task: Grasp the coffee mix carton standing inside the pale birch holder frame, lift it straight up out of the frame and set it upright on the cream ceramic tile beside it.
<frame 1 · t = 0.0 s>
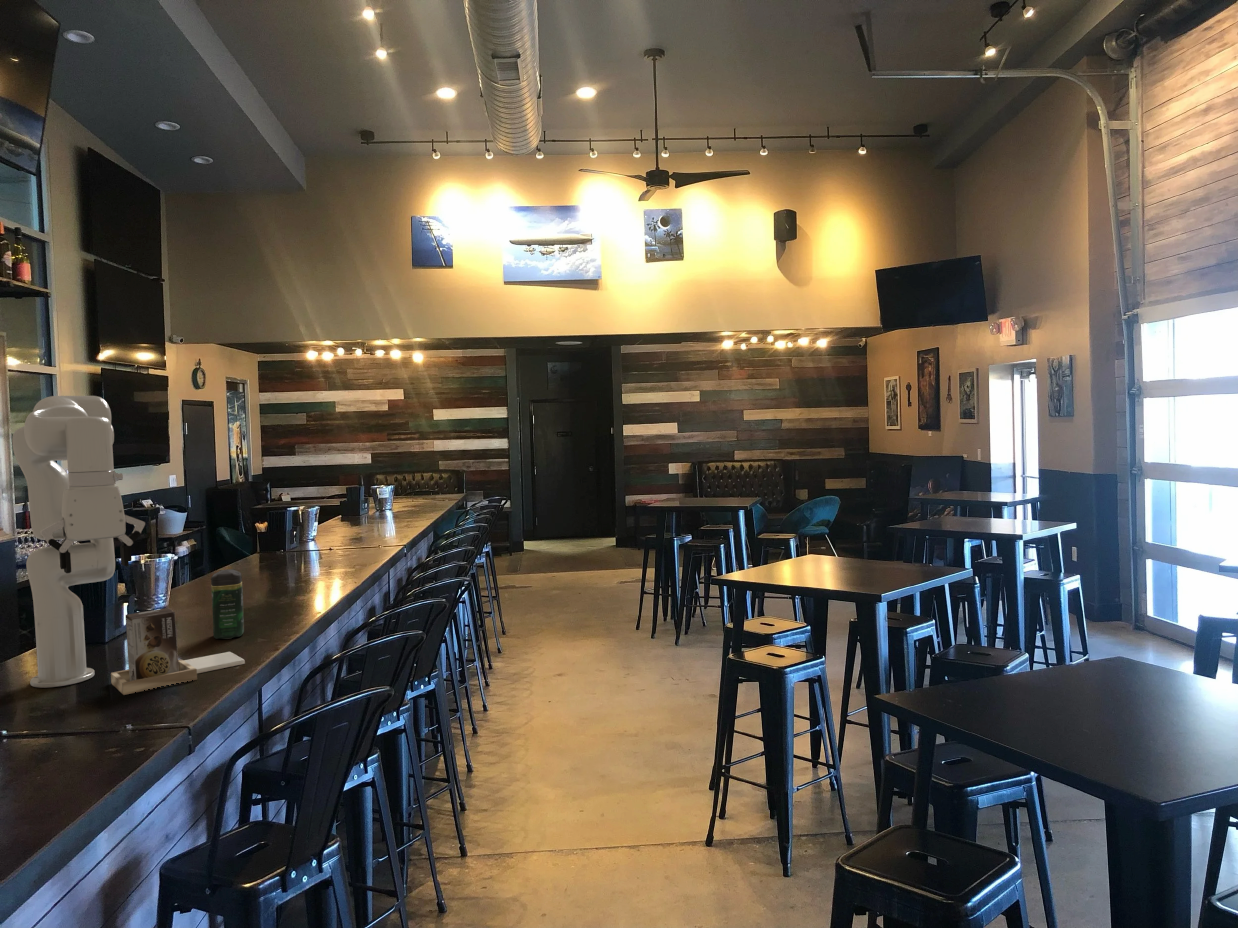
hand: (96, 568, 164), 31 cm above the bar counter, tool pointing down, fingers open, 9 cm apart
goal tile: (214, 664, 209), on the bar counter
coffee box: (154, 682, 196), resting in holder frame
coffee jar: (229, 636, 238), on the bar counter
holder frame: (154, 681, 196), on the bar counter
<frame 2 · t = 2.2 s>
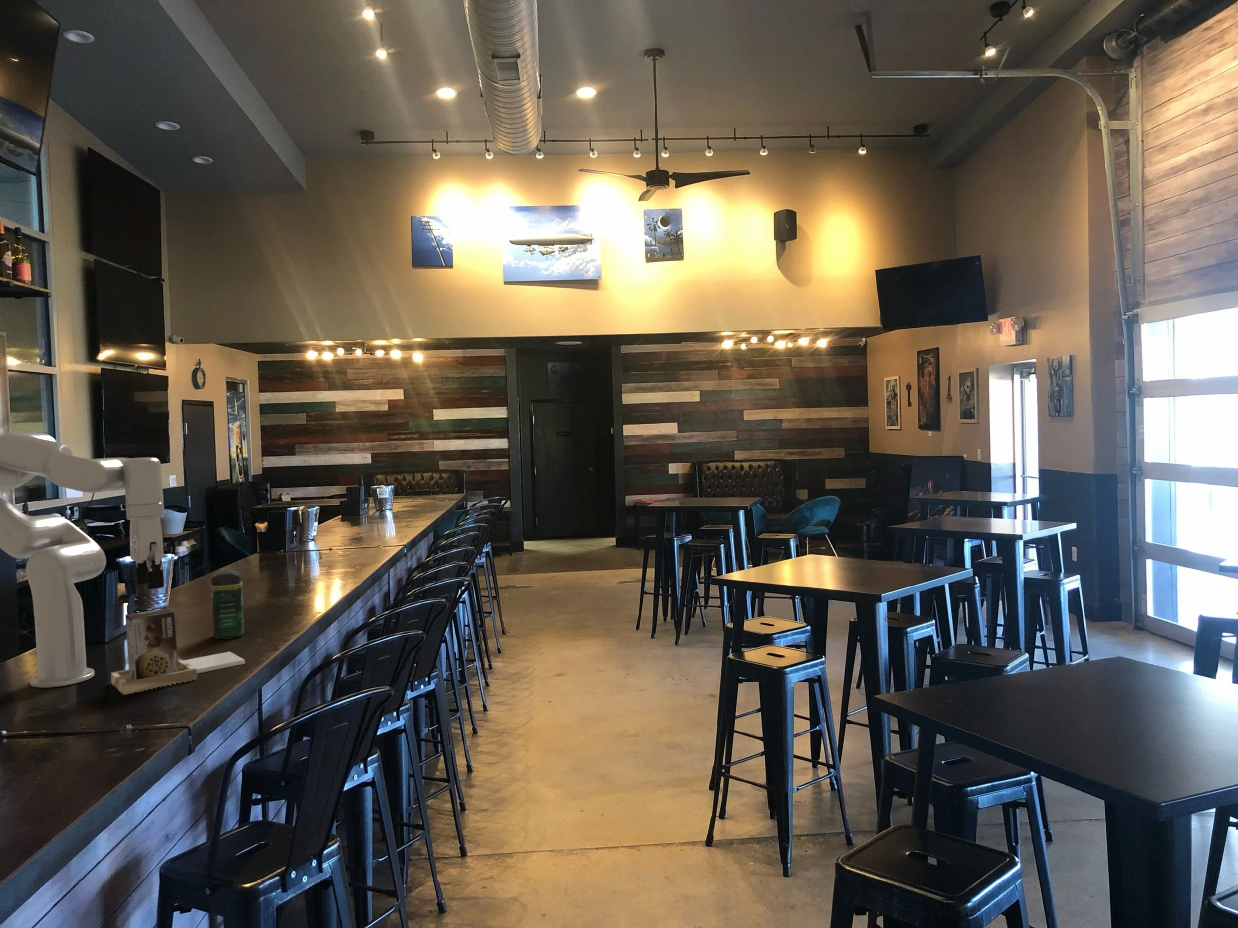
hand: (150, 585, 195), 22 cm above the bar counter, tool pointing down, fingers open, 9 cm apart
nothing on the bar counter moved.
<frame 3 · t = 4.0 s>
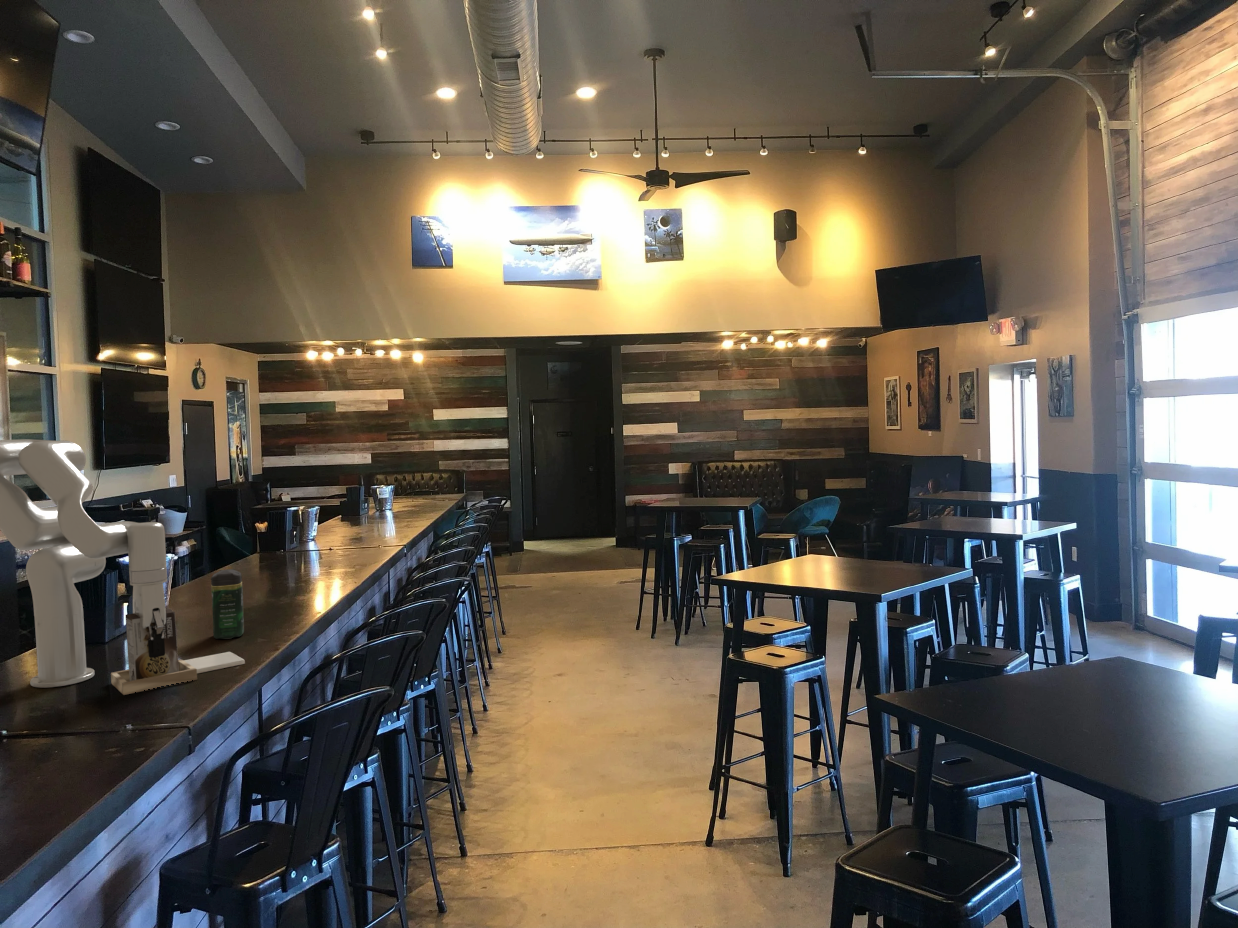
hand: (152, 652, 195), 7 cm above the bar counter, tool pointing down, fingers closed on coffee box, 6 cm apart
coffee box: (154, 682, 196), resting in holder frame, touching gripper
everything else where it was.
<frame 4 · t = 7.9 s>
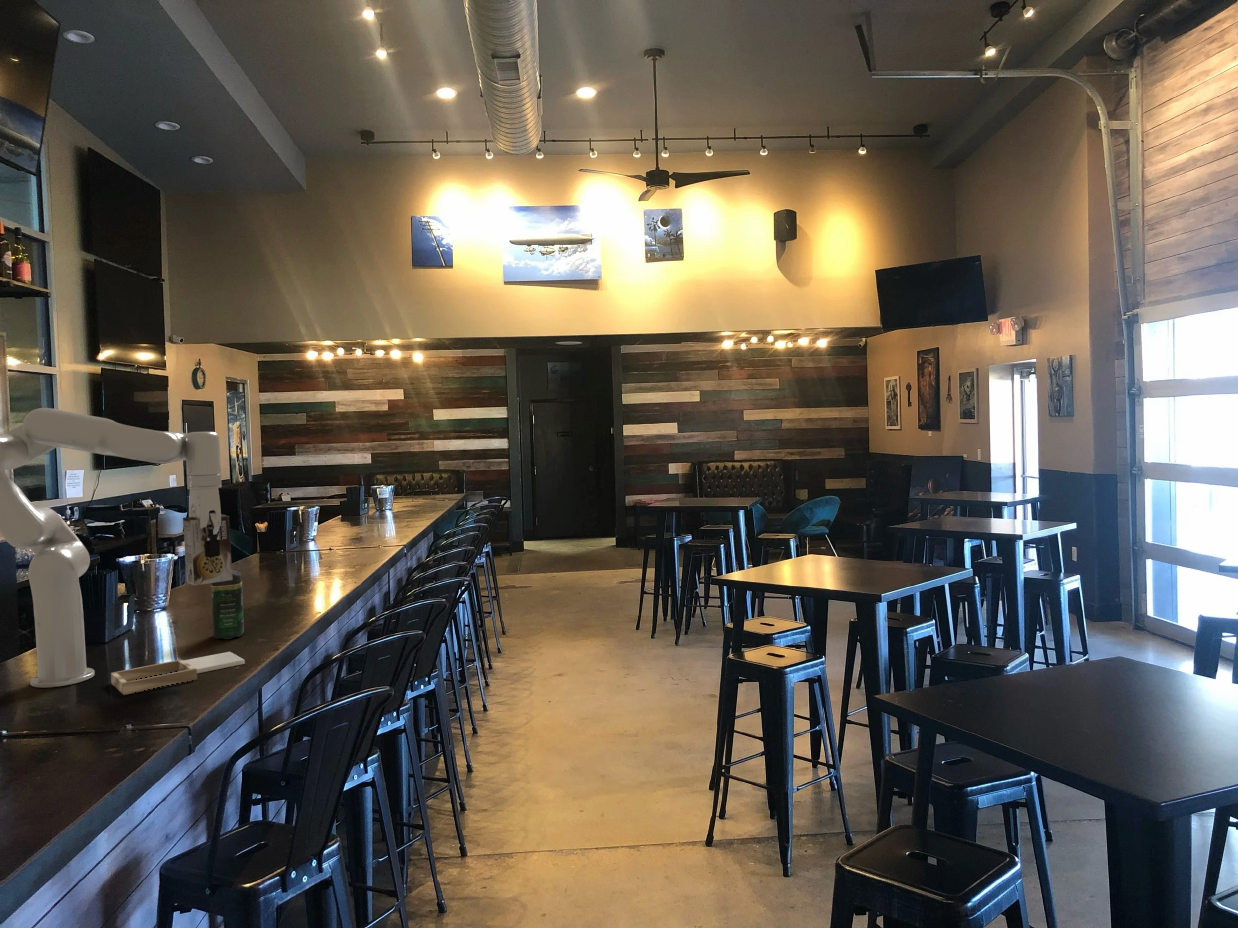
hand: (207, 554, 208), 27 cm above the bar counter, tool pointing down, fingers closed on coffee box, 6 cm apart
coffee box: (209, 582, 208), point 20 cm above the bar counter, touching gripper
everything else where it was.
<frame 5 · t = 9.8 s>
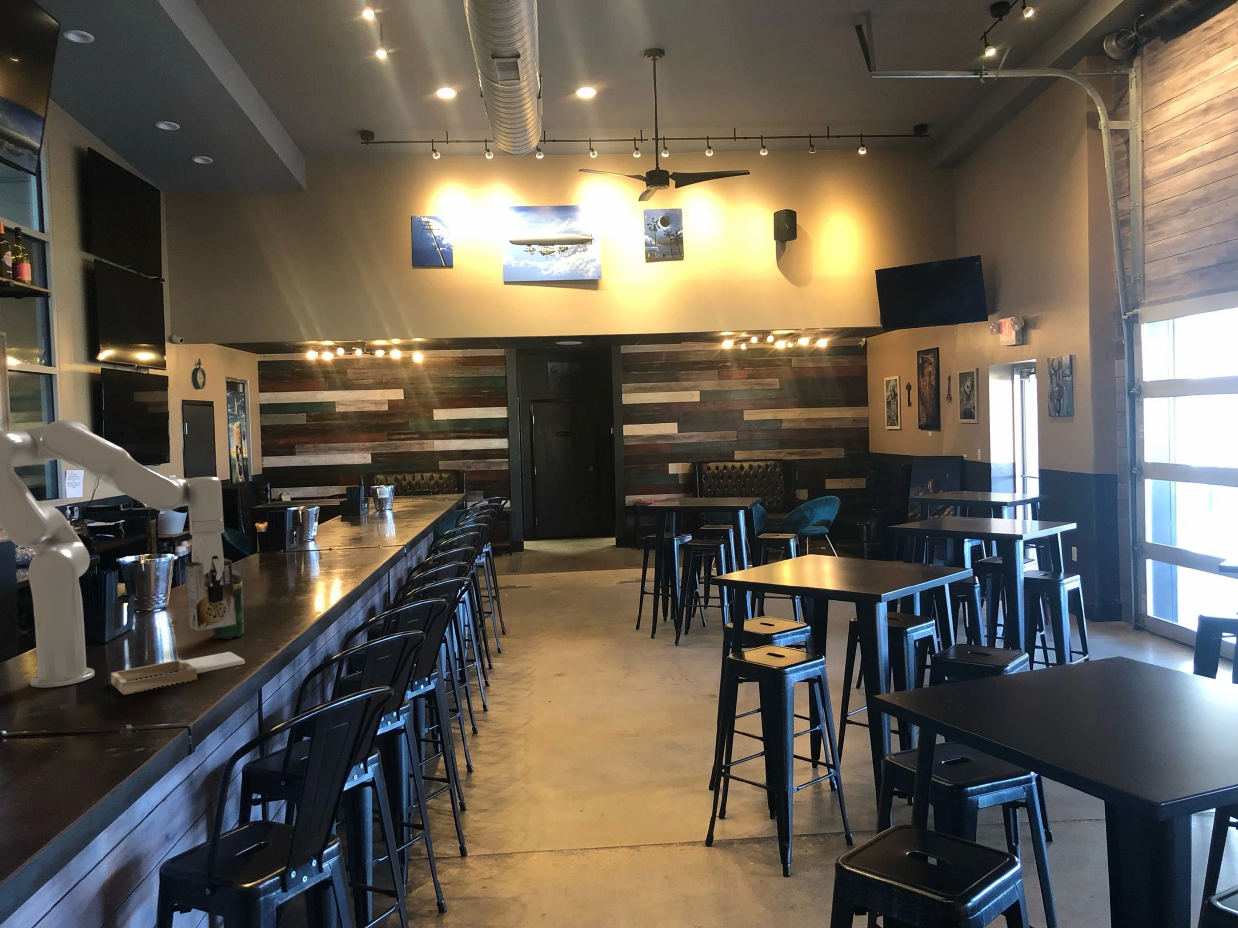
hand: (211, 599, 208), 16 cm above the bar counter, tool pointing down, fingers closed on coffee box, 6 cm apart
coffee box: (212, 626, 209), point 9 cm above the bar counter, touching gripper
everything else where it was.
when the fingers open (9 cm above the bar counter, at t = 11.7 s): coffee box drops 1 cm, resting on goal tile.
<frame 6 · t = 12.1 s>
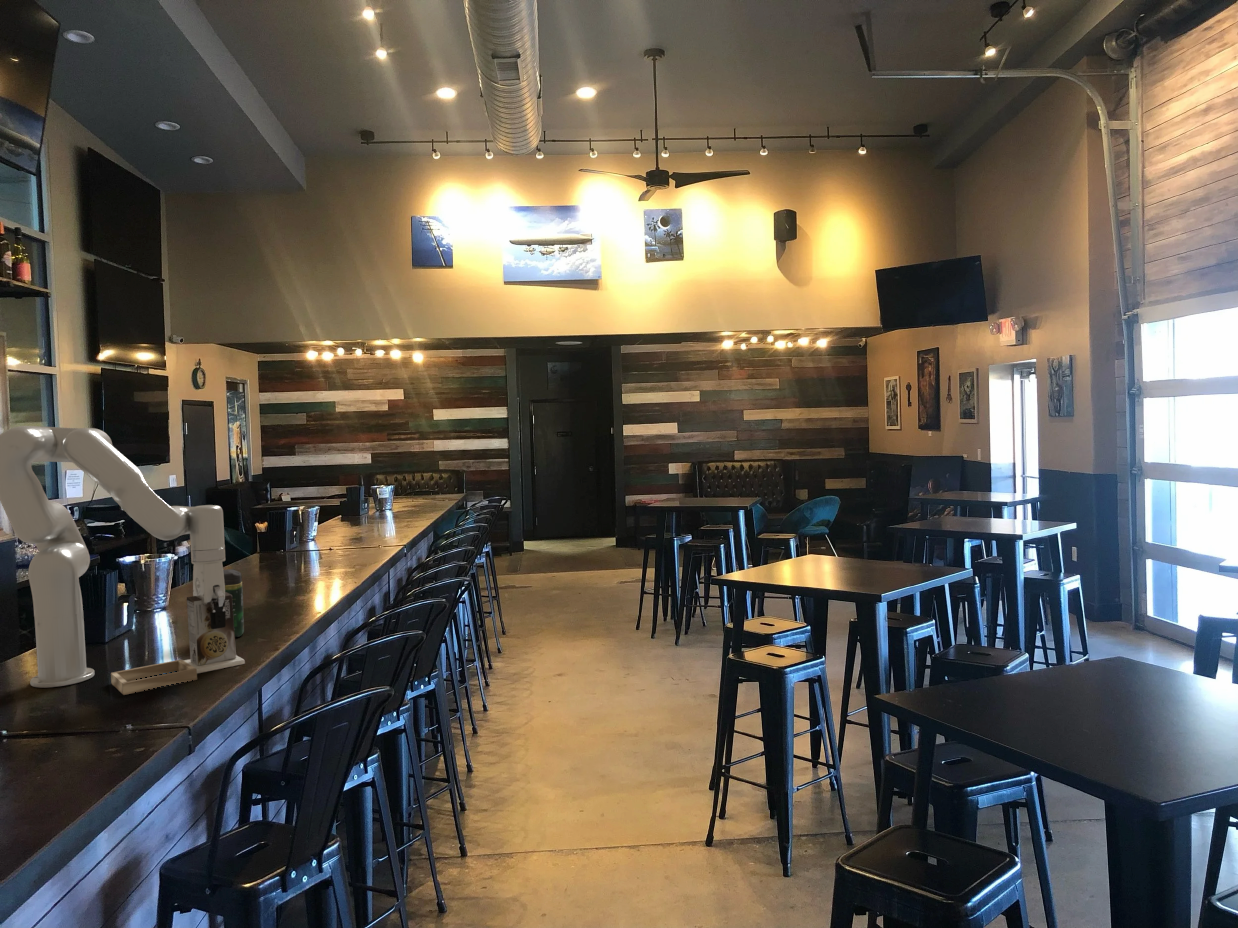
hand: (211, 624, 209), 10 cm above the bar counter, tool pointing down, fingers open, 9 cm apart
coffee box: (213, 660, 209), point 1 cm above the bar counter, touching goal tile
everything else where it was.
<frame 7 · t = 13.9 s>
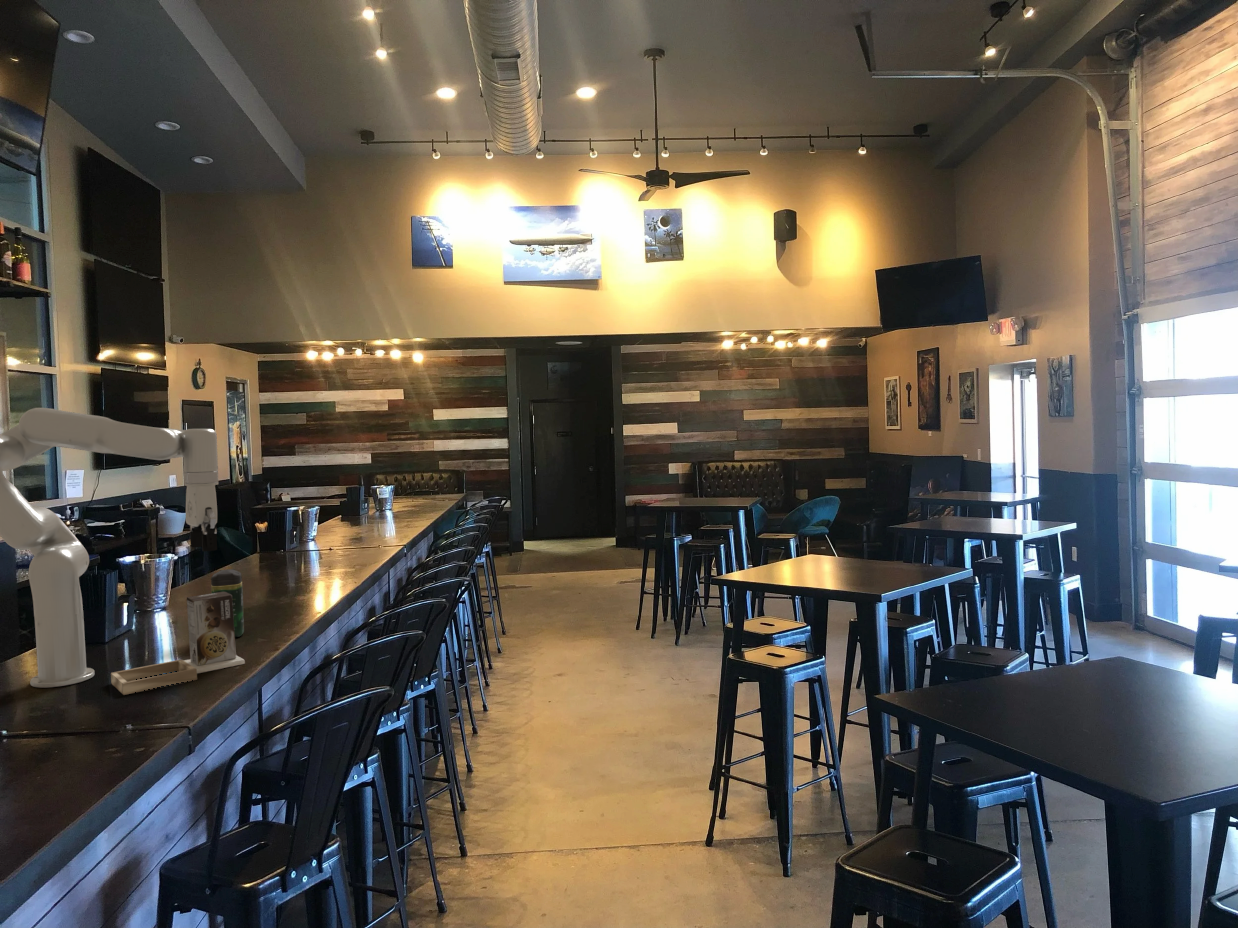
hand: (203, 548, 208), 29 cm above the bar counter, tool pointing down, fingers open, 9 cm apart
nothing on the bar counter moved.
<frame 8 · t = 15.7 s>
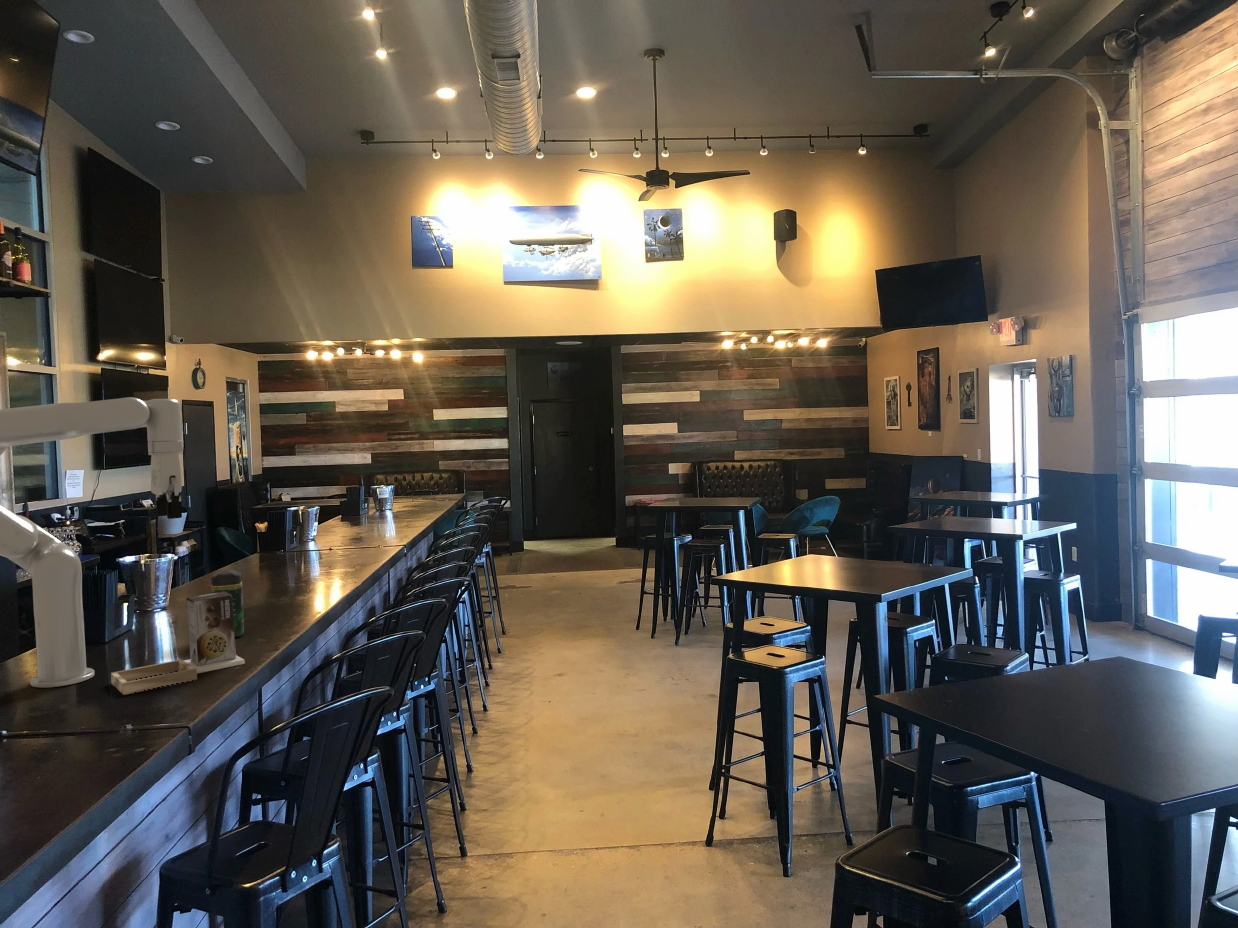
hand: (169, 516, 212), 36 cm above the bar counter, tool pointing down, fingers open, 9 cm apart
nothing on the bar counter moved.
at the end: coffee box inside the target area on the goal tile (0.1 cm from its centre), point 0.8 cm above the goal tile's base; coffee box tilted 0°; the gripper is holding nothing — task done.
